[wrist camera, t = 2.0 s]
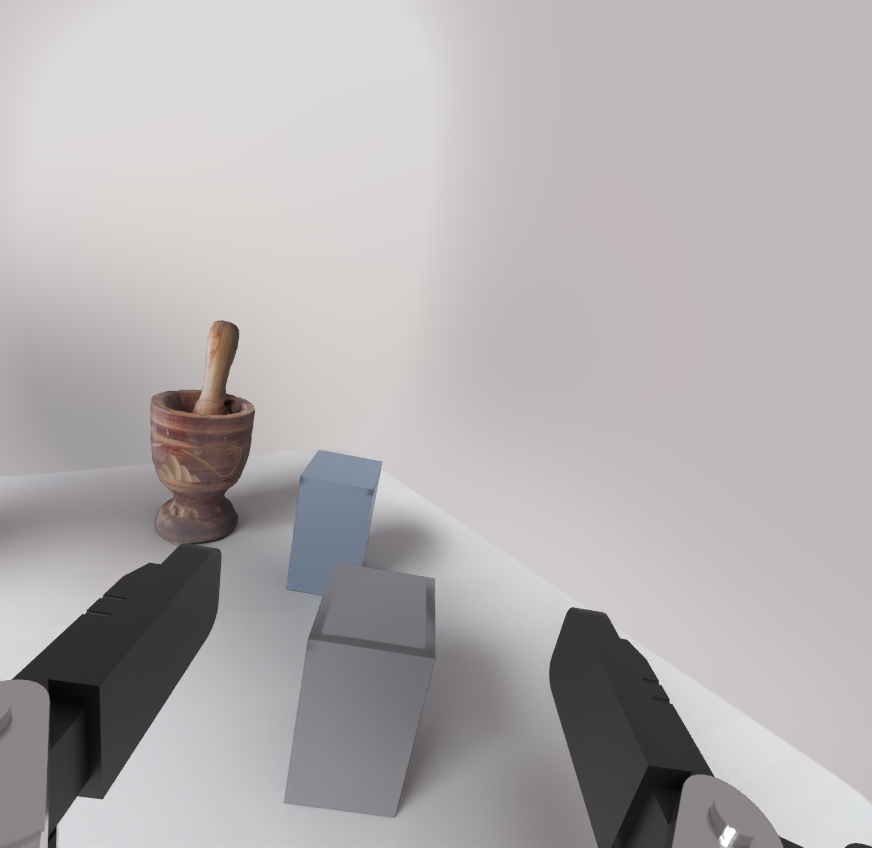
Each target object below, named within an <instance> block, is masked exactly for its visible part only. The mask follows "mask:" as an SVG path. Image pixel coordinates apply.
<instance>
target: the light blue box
mask: <svg viewBox="0 0 872 848" xmlns="http://www.w3.org/2000/svg"><path fill="white" fill-rule="evenodd" d="M381 465H382V462H381V461H376V460H371V459H365V458H360V457H354V456H349V455H344V454H338V453H333V452H327V451H322V450H318V452H317V453H316V455H315V456H314V457H313V459H312V460H311V462H310V463H309V465H308V466H307V468H306V469H305V470H304V472H303V473H302V475H301V476H300V485H299V493H298V501H297V509H296V517H295V525H294V533H293V541H292V549H291V557H290V565H289V573H288V581H287V589H288V590H294V591H300V592H307V593H313V594H319V595H324V592H325V590H326V587H327V584H328V581H329V578H330V575H331V573H332V570H333V567H334V564H335V562H339V563H345V564H351V565H357V566H362V567H363V563H364V559H365V554H366V548H367V543H368V537H369V531H370V526H371V520H372V515H373V509H374V504H375V498H376V493H377V487H378V482H379V476H380V471H381Z"/></svg>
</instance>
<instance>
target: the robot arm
mask: <svg viewBox="0 0 872 848" xmlns="http://www.w3.org/2000/svg"><path fill="white" fill-rule="evenodd" d="M220 571H221V551H220V550H219V549H217V548H210V547H204V546H198V545H192V544H186V543H184V544H181V545H180V546H179V547H178V548H177V549H176V550H175V551H174V552H173V553H172V554H171V555H170V556H169V557H168V558H167V559H166V560H165V561H164V562H163V563H162V564H161V565H160V564H154V563H148V564H146V565H144V566H142V567H140V568H139V569H137V570H135V571H133V572H131V573H129V574H127V575H125V576H123V577H122V578H121V579H120V580H119V581H118V582H117V583H116V584H114V585H113V586H112V587H111V588H110V589H109V590H108V591H107V592H106V593H105V594H104V596H103V598H102V599H101V598H99V599H98V600H97V601H96V602H95V603H94V604H93V605H92V606H91V607H90V608H89V609H88V610H87V612H86V614H82V615H81V616H80V617H79V618H78V619H77V620H76V621H75V622H73V623H72V624H71V625H70V626H69V627H68V628H67V629H66V630H65V631H64V632H63V633H62V634H61V635H59V636H58V637H57V638H56V639H55V640H54V641H53V642H52V643H51V644H50V645H49V646H48V647H47V648H45V649H44V650H43V651H42V652H41V653H40V654H39V655H38V656H37V657H36V658H35V659H34V660H32V661H31V662H30V663H29V664H28V665H27V666H26V667H25V668H24V669H23V670H22V671H21V672H20V673H18V674H17V675H16V676H15V677H14V678H13V679H12V680H7V681H0V848H58V840H59V828H58V823H59V822H60V820H61V819H62V817H63V816H64V814H65V813H66V812H67V810H68V809H69V807H70V806H71V804H72V803H73V802H74V800H75V799H76V797H77V796H80V797H88V798H96V799H103V798H104V796H105V795H106V793H107V792H108V790H109V789H110V787H111V786H112V784H113V782H114V781H115V779H116V778H117V776H118V775H119V773H120V772H121V770H122V769H123V767H124V765H125V764H126V762H127V761H128V759H129V758H130V756H131V755H132V753H133V752H134V750H135V748H136V747H137V745H138V744H139V742H140V741H141V739H142V738H143V736H144V735H145V733H146V731H147V730H148V728H149V727H150V725H151V724H152V722H153V721H154V719H155V718H156V716H157V714H158V713H159V711H160V710H161V708H162V707H163V705H164V704H165V702H166V700H167V699H168V697H169V696H170V694H171V693H172V691H173V690H174V688H175V687H176V685H177V683H178V682H179V680H180V679H181V677H182V676H183V674H184V673H185V671H186V670H187V668H188V666H189V665H190V663H191V662H192V660H193V659H194V657H195V656H196V654H197V653H198V651H199V649H200V648H201V646H202V645H203V643H204V642H205V640H206V639H207V637H208V635H209V633H210V631H211V629H212V627H213V624H214V621H215V618H216V615H217V610H218V601H219V586H220ZM549 678H550V687H551V691H552V694H553V698H554V701H555V704H556V708H557V711H558V714H559V718H560V721H561V725H562V728H563V731H564V735H565V738H566V741H567V745H568V748H569V751H570V755H571V758H572V761H573V765H574V768H575V771H576V775H577V778H578V781H579V785H580V788H581V791H582V795H583V798H584V801H585V805H586V808H587V811H588V815H589V818H590V821H591V825H592V828H593V831H594V835H595V838H596V842H597V845H598V848H803V847H801V846H799V845H797V844H795V843H792V842H790V841H788V840H786V839H784V838H782V837H780V836H778V834H777V832H776V831H775V829H774V827H773V826H772V824H771V823H770V822H769V820H768V819H767V818H766V816H765V815H764V814H763V813H762V812H761V811H760V809H759V808H758V807H757V806H756V805H755V804H754V803H753V802H752V801H751V800H750V799H748V798H747V797H746V796H745V795H744V794H743V793H741V792H740V791H739V790H737V789H736V788H734V787H733V786H731V785H730V784H728V783H726V782H724V781H722V780H720V779H718V778H715V777H714V775H713V773H712V772H711V770H710V768H709V766H708V765H707V763H706V761H705V759H704V758H703V756H702V754H701V753H700V751H699V749H698V747H697V746H696V744H695V742H694V741H693V739H692V737H691V735H690V734H689V732H688V730H687V729H686V727H685V725H684V723H683V722H682V720H681V718H680V717H679V715H678V713H677V711H676V710H675V708H674V706H673V704H670V703H669V700H670V699H669V698H668V696H667V694H666V692H665V691H664V689H663V687H662V686H661V685H659V680H658V679H657V677H656V675H655V674H654V672H653V670H652V668H651V667H650V665H649V663H648V661H647V660H646V659H645V658H644V657H643V656H642V655H641V654H640V653H639V651H638V650H637V649H636V648H635V647H634V646H633V645H632V644H631V643H630V642H629V641H628V640H625V639H620V638H619V636H618V634H617V632H616V630H615V628H614V627H613V625H612V623H611V621H610V619H609V618H608V616H607V615H606V614H605V613H603V612H598V611H592V610H586V609H579V608H573V607H572V608H570V609H569V610H568V612H567V614H566V616H565V619H564V622H563V625H562V628H561V631H560V634H559V637H558V640H557V643H556V646H555V649H554V652H553V655H552V658H551V662H550V670H549ZM845 848H872V847H871V846H868V845H864V844H859V843H853V844H849V845H847V846H846V847H845Z"/></svg>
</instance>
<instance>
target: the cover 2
mask: <svg viewBox="0 0 872 848" xmlns="http://www.w3.org/2000/svg"><path fill="white" fill-rule="evenodd" d="M434 662H435V579H434V578H428V577H422V576H416V575H410V574H404V573H398V572H392V571H386V570H380V569H374V568H368V567H362V566H357V565H351V564H345V563H339V562H335V564H334V567H333V570H332V573H331V575H330V578H329V581H328V584H327V587H326V590H325V592H324V595H323V598H322V601H321V604H320V607H319V610H318V612H317V615H316V618H315V621H314V624H313V627H312V629H311V632H310V635H309V638H308V643H307V650H306V657H305V664H304V670H303V677H302V684H301V691H300V698H299V704H298V711H297V718H296V725H295V732H294V739H293V745H292V752H291V759H290V766H289V773H288V779H287V786H286V793H285V800H284V803H288V804H296V805H304V806H311V807H319V808H327V809H334V810H342V811H350V812H357V813H365V814H373V815H380V816H388V817H395V815H396V811H397V807H398V803H399V799H400V795H401V791H402V787H403V783H404V779H405V776H406V772H407V768H408V764H409V760H410V756H411V752H412V748H413V744H414V740H415V736H416V732H417V729H418V725H419V721H420V717H421V713H422V709H423V705H424V701H425V697H426V693H427V689H428V685H429V682H430V678H431V674H432V670H433V666H434Z"/></svg>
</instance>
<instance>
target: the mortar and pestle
mask: <svg viewBox="0 0 872 848" xmlns="http://www.w3.org/2000/svg"><path fill="white" fill-rule="evenodd" d="M238 340H239V329H238V328H237V326H236V325H234V324H232V323H230V322H226V321H215V322H214V323H213V324H212V326H211V328H210V330H209V334H208V339H207V349H206V367H205V374H204V382H203V388H202V390H180V391H167V392H163V393H159V394H157V395H155V396H153V398H152V399H151V448H152V459H153V462H154V465H155V468H156V472H157V474H158V476H159V479H160V481H161V482H162V483H163V484H164V485H165V486H166V487H167V488H168V489H169V490H171V491H172V492H173V493H174V498H173V499H171V500H169V501H167V502H166V503H164V505H163V506H162V507H161V508H160V509H159V511H158V513H157V516H156V519H155V528H156V531H157V532H158V533H159V534H160V535H161V536H162V537H164V538H165V539H167V540H169V541H170V542H172V543H174V544H175V545H180V544H184V543H186V544H189V543H199V542H205V541H211V540H216V539H218V538H221V537H224V536H227V535H228V534H230V533H231V532H232V531H233V530H234V529H235V527H236V525H237V520H238V516H237V513H236V512H235V510H234V508H233V505H232V504H231V502H230V501H229V500H228V499H226V498H225V496H224V494H225V492H226V491H227V490H228V489H229V488H230V487H232V486H233V485H234V484H235V483H237V481H238V479H239V478H240V476H241V474H242V471H243V469H244V467H245V464H246V462H247V459H248V456H249V451H250V446H251V434H252V429H253V421H254V414H255V410H254V406H253V405H252V403H250V402H248V401H247V400H245V399H242V398H238V397H236V396H233V395H229V394H226V389H225V387H226V383H227V378H228V375H229V370H230V366H231V365H232V362H233V360H234V357H235V354H236V350H237V347H238Z"/></svg>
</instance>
